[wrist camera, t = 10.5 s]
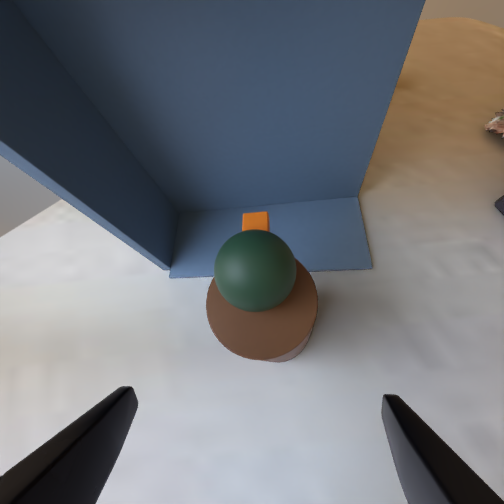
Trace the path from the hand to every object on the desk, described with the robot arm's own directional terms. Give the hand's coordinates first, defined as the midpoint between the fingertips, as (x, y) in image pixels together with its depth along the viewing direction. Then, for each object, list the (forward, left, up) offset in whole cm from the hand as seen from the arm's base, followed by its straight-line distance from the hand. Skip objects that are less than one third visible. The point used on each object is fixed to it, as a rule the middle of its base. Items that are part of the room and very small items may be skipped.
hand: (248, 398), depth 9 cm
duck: (+2, -4, -13) cm, 14 cm away
